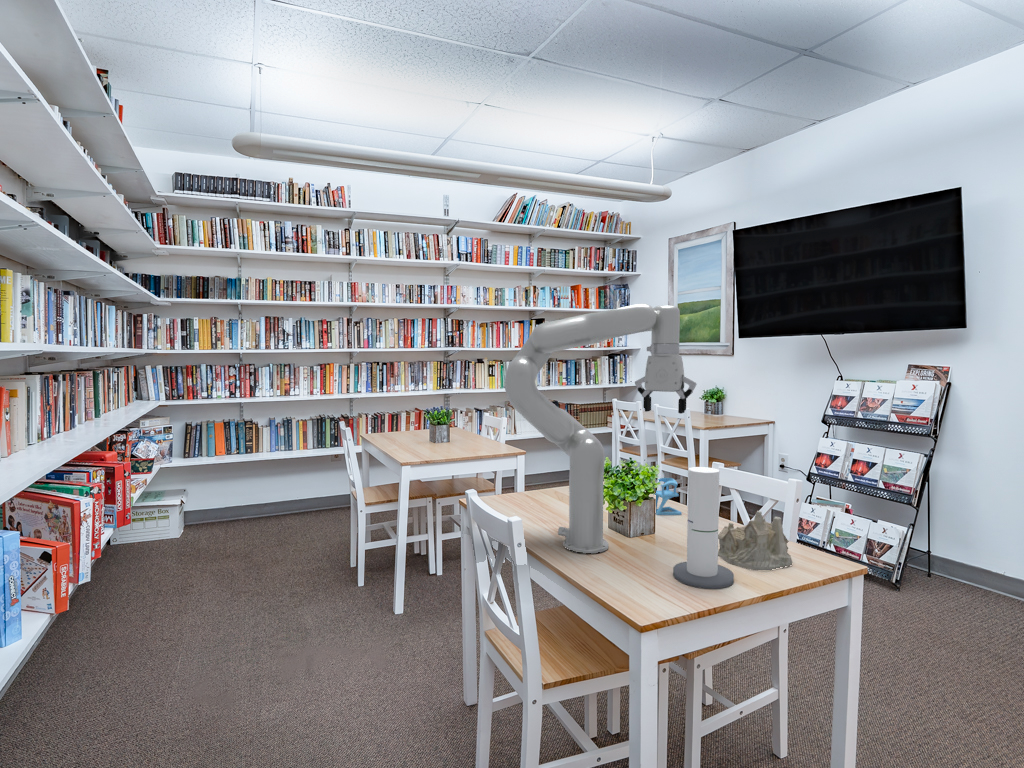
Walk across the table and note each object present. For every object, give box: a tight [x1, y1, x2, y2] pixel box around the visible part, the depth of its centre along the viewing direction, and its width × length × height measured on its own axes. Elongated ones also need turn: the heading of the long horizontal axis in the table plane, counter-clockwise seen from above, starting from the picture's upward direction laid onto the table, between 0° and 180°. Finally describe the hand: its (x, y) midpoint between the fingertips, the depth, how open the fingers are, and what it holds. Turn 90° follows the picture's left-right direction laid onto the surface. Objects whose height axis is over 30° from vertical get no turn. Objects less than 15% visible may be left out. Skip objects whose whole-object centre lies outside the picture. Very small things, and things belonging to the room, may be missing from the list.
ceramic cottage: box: [718, 510, 793, 571], centre depth 154 cm, size 16×16×15 cm
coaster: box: [672, 561, 735, 590], centre depth 141 cm, size 14×14×2 cm
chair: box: [655, 477, 682, 516], centre depth 199 cm, size 8×8×12 cm
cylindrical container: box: [686, 466, 720, 577], centre depth 141 cm, size 7×7×25 cm
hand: (664, 412), depth 162 cm, fingers open, 9 cm apart
